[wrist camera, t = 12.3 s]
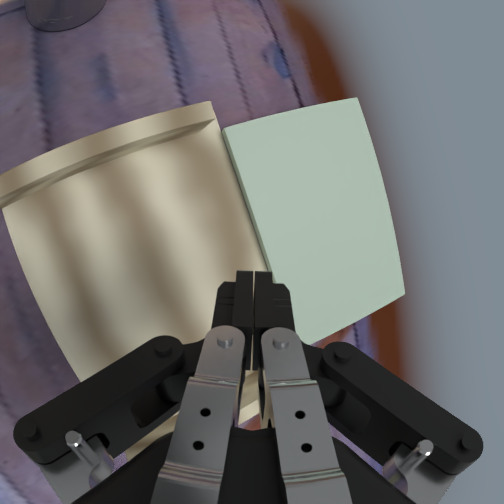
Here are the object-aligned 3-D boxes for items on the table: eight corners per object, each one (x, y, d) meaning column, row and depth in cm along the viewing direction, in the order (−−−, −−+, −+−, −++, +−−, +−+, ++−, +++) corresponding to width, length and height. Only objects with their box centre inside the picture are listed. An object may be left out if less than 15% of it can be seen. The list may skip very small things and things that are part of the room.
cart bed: (125, 433, 27) (137, 475, 21) (6, 195, 21) (-19, 184, 15) (281, 349, 35) (320, 371, 29) (203, 121, 29) (232, 96, 23)
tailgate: (297, 350, 31) (405, 293, 33) (224, 128, 25) (357, 97, 28) (290, 341, 33) (394, 289, 35) (220, 132, 27) (346, 102, 30)
